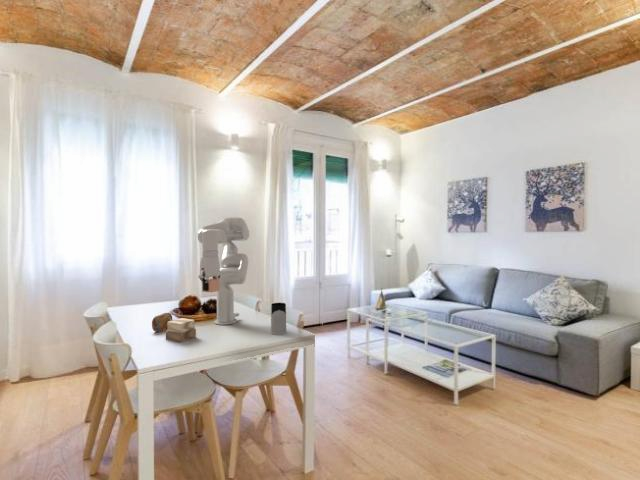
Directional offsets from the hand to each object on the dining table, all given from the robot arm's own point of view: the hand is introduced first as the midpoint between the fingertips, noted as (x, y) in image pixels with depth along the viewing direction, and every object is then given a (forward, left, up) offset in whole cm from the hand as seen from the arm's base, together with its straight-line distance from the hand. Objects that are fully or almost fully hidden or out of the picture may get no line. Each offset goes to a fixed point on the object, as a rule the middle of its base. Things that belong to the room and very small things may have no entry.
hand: (210, 289), depth 191 cm
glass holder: (-24, +25, -24) cm, 42 cm away
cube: (0, 0, -1) cm, 1 cm away
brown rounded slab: (+4, -32, -24) cm, 40 cm away
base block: (+10, -10, -24) cm, 28 cm away
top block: (+10, -10, -20) cm, 24 cm away
